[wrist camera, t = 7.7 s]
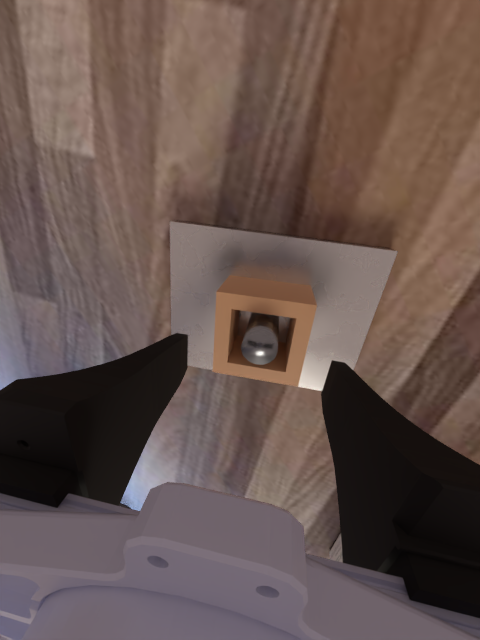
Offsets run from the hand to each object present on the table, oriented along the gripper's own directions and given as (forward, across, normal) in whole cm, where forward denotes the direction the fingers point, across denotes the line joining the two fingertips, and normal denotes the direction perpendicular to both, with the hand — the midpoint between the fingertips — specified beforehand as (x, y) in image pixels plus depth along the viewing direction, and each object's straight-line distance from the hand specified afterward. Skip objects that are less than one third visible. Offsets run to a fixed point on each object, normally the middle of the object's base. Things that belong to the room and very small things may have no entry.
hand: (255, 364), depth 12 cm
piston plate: (+7, 0, 0) cm, 7 cm away
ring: (+6, 0, 0) cm, 6 cm away
